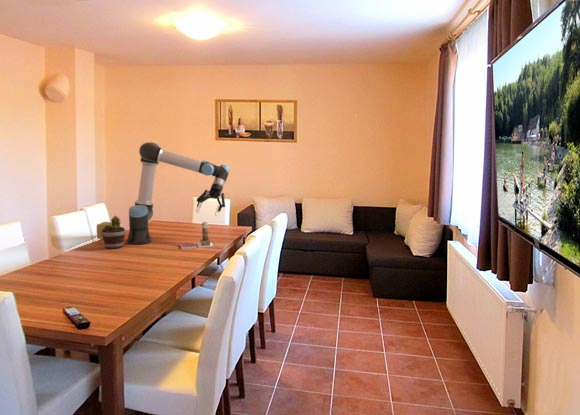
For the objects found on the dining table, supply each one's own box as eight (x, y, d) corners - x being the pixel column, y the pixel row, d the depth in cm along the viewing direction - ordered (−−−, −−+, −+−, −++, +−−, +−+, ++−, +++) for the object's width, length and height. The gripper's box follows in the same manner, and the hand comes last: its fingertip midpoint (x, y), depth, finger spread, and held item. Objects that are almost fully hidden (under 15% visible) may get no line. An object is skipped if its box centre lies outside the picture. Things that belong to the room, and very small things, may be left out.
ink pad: (179, 245, 280) (179, 243, 280) (194, 244, 283) (194, 242, 283) (181, 248, 272) (181, 246, 272) (196, 247, 275) (196, 245, 275)
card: (195, 243, 287) (195, 242, 287) (212, 242, 290) (212, 241, 290) (197, 247, 276) (197, 246, 276) (215, 246, 280) (215, 245, 280)
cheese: (118, 236, 305) (118, 222, 303) (111, 239, 294) (110, 224, 293) (104, 235, 306) (103, 221, 304) (96, 239, 295) (95, 224, 294)
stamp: (200, 243, 286) (200, 221, 284) (208, 243, 287) (208, 220, 285) (202, 245, 279) (202, 223, 277) (210, 245, 281) (210, 222, 279)
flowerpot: (118, 250, 265) (117, 217, 262) (95, 249, 268) (94, 216, 265) (131, 245, 279) (130, 214, 276) (109, 243, 282) (108, 212, 279)
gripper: (236, 191, 298) (225, 219, 289) (202, 185, 304) (191, 212, 295) (233, 186, 291) (222, 214, 282) (199, 180, 298) (187, 207, 289)
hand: (206, 213), depth 289 cm, fingers open, 13 cm apart
